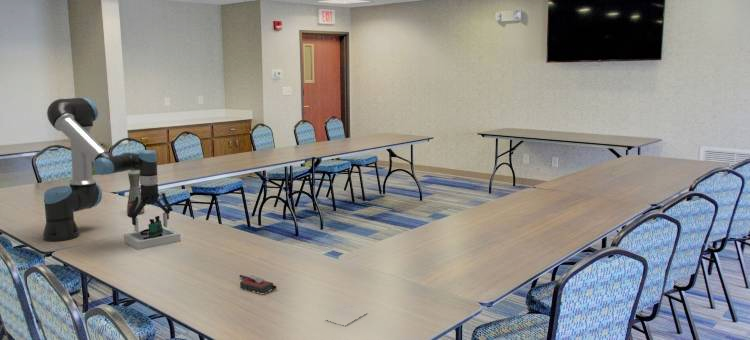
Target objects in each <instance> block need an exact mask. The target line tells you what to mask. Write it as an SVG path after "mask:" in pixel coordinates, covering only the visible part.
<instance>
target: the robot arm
mask: <svg viewBox="0 0 750 340" xmlns="http://www.w3.org/2000/svg"><path fill="white" fill-rule="evenodd" d="M46 116H47V120H48V121H49V124H50V125H51V126H52V127H53V128H54V129H55V130H56V131H58V132H61V133H63V135H65V136H66V137H67V138H68V139H69V141H70V155H71V169H72V171H71V172H72V179H71V180H70V181H69V185H59V186H55V187H51V188H48V189H47V190H45V191H44V193H43V203H44V211H45V212H44V214H45V225H44V230H43V233H42V239H43V241H47V242H61V241H67V240H73V239H75V238H78V237H79V236H80V229H79V228H78V225H77V223H76V221H75V219H74V218H75V215H74V213H75V212H79V211H83V210H89V209H92V208H95V207H97V206H98V205H99V204H100V203H101V202H102V198H103V191H102V188H101V186H100V185H99V184H98V183H97V181H96V180H95V179H94V178H93V169H94V170H95V172H96V174H98V175H100V176H105V175H106V176H108V175H111V174H115V173H120V172H121V173H122V172H126V171H130V170H138V171H139V172H140V179H139V187H140V192H141V196H134V201H133V203H132V205H131V208H130V210H129V212H128V213H127V217H128V218H129V219H130V218H131V223H132V225H133V226H134V227H133V228H134V232H139V218H138V216H139V215H140V214H139V213H140V211H141V210H142V209H143V207H144V208H145V206H146V205H147V206H148V205H149V206H150V205H157V206H158V207H159V208H160V209H161V210H162V211H163V212H162V221H163V222H162V223H163V225H162V227H167V228H168V221H169V219H170V216H169V215H170V213H171V212H173V208H172V206H171V205H170V203H169V200H168V199H167V197H166V193H165V192H163V191H161V192H160V193H159V185H158V182H159V180H158V179H159V178H158V159H157V152H156V150H153V149H143V150H139V151H138V153H136V152H135V153H134V152H128V151H127V152H121V153H119V155H118V154H117V155H113V154H111V153H110V152H109V151H108V150H107V149H106V148H105V147H104V146H102V145H101V144H100V143H99V141H98V140H96V139H95V138H94V137H93V136H92V135H91V129H92V128H93V127H94V122H95V121H96V120H97V118H98V116H99V110H98V107H97V105H96V104H95V102H94V101H93V100H92V99H90V98H87V97H71V98H58V99H55V100H54V101H52V102H51V103H50V104H49V106H48V108H47V112H46ZM92 164H93V167H92ZM159 198H161V200H162V202H163V203H164V204H162V203H161V202H160V201H159ZM140 199H141V200H142V201H141V202H140V205H139V206H138V207H137V209H136V206H137V204H138V201H139V200H140ZM164 205H165V206H164ZM135 209H136V210H135ZM134 211H135V212H134Z"/></svg>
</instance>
